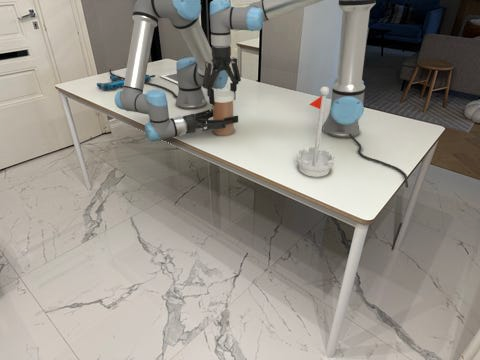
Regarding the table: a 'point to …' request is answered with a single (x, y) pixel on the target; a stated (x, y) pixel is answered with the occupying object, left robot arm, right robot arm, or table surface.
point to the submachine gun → (117, 82)
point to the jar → (223, 116)
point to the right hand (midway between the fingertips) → (222, 101)
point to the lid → (223, 96)
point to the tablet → (171, 77)
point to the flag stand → (316, 146)
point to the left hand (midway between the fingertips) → (232, 115)
